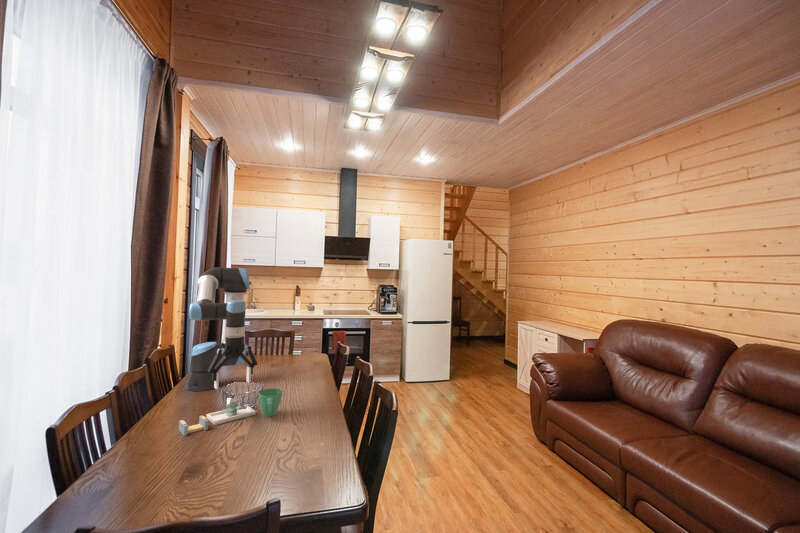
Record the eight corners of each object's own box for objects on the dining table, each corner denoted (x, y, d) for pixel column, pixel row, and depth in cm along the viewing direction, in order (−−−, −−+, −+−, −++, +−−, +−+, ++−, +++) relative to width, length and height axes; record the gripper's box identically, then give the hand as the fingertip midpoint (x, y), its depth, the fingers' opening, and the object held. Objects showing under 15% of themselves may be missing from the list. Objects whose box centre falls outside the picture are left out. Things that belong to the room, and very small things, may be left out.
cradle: (178, 429, 141) (179, 419, 141) (202, 424, 147) (202, 414, 147) (184, 435, 136) (184, 425, 136) (208, 429, 142) (208, 419, 142)
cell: (224, 414, 155) (225, 395, 156) (234, 412, 159) (235, 393, 159) (228, 417, 152) (228, 398, 153) (238, 415, 156) (239, 396, 156)
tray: (206, 418, 153) (206, 414, 153) (246, 408, 165) (246, 404, 165) (214, 425, 146) (214, 421, 146) (255, 414, 158) (255, 411, 158)
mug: (258, 411, 162) (259, 389, 162) (281, 409, 165) (281, 387, 165) (256, 424, 148) (258, 400, 148) (281, 422, 151) (282, 398, 151)
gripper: (207, 340, 145) (204, 393, 145) (266, 334, 163) (264, 381, 163) (200, 337, 150) (198, 388, 150) (259, 332, 168) (257, 377, 168)
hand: (232, 385), depth 156 cm, fingers open, 13 cm apart
